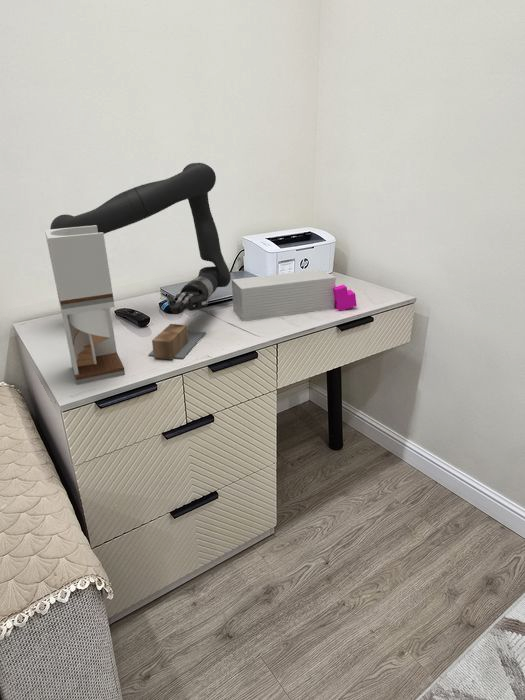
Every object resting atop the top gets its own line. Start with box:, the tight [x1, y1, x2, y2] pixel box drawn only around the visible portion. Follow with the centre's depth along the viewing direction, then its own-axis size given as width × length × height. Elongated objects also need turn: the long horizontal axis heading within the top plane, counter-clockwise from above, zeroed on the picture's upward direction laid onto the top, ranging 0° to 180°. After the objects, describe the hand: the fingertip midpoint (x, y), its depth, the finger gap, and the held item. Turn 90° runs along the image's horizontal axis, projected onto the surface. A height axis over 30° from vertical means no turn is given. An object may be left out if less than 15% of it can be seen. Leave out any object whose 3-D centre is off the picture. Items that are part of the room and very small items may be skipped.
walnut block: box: [151, 323, 189, 360], centre depth 132 cm, size 5×5×12 cm
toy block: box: [329, 273, 358, 312], centre depth 165 cm, size 15×6×8 cm, turn 13°
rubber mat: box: [147, 330, 207, 360], centre depth 137 cm, size 10×18×1 cm, turn 166°
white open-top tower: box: [44, 225, 126, 385], centre depth 116 cm, size 11×11×35 cm
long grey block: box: [231, 269, 337, 322], centre depth 160 cm, size 32×11×11 cm, turn 109°
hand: (175, 311), depth 133 cm, fingers closed
